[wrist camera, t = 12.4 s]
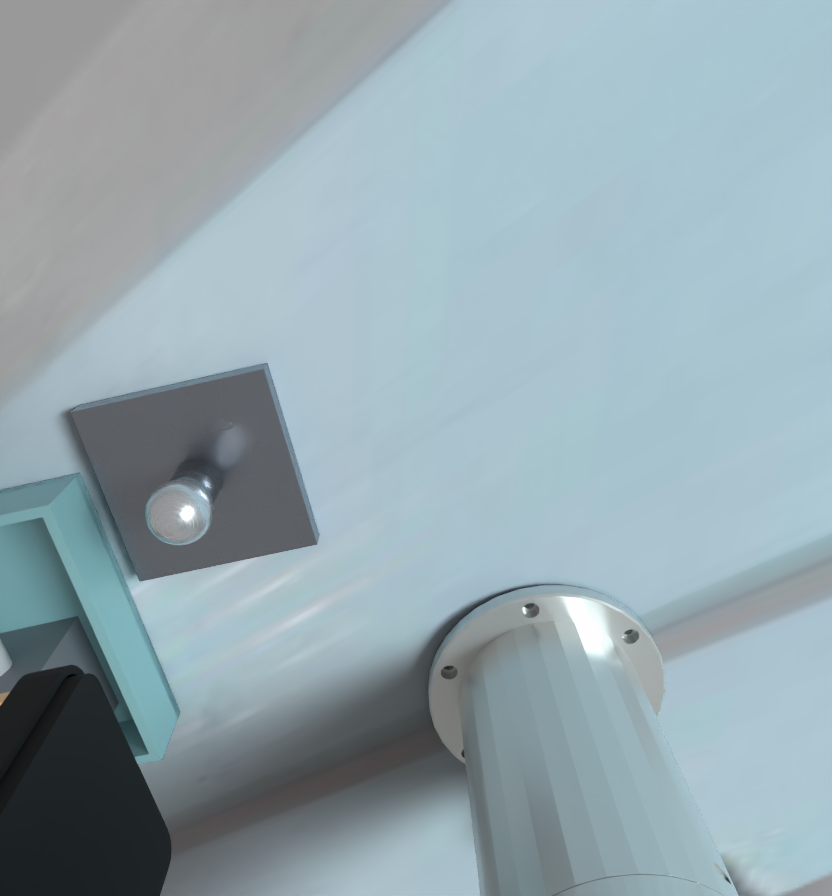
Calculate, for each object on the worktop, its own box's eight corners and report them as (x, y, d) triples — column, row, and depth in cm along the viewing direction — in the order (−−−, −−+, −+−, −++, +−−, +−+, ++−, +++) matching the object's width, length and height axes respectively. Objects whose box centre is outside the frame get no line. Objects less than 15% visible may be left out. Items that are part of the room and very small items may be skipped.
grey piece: (318, 534, 38) (306, 597, 33) (145, 571, 38) (105, 638, 33) (267, 362, 35) (244, 401, 29) (78, 405, 35) (22, 451, 30)
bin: (180, 712, 42) (162, 759, 38) (-4, 748, 42) (-37, 798, 39) (79, 472, 36) (49, 504, 33) (-129, 518, 37) (-179, 554, 34)
